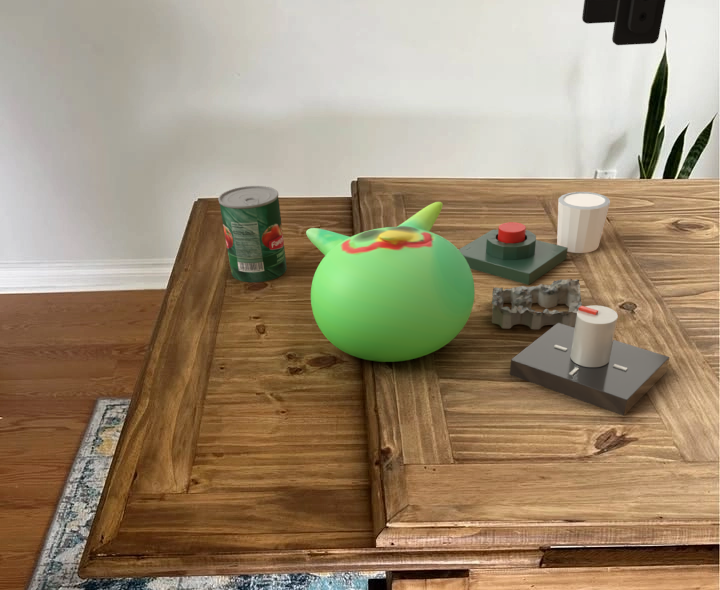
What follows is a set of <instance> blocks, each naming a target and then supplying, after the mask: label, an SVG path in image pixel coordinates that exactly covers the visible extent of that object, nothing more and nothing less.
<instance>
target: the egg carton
mask: <svg viewBox="0 0 720 590" xmlns="http://www.w3.org/2000/svg"><path fill="white" fill-rule="evenodd" d="M491 294H492V300H491V305H492V314H491V323H492V324H496V325H498V326H500V327H501V329H511V328H512V327H513V326H515V325H524V326H527V327H529V328H530V330H541V328H542V327H544V326H554V325H556V324H557V323H561V324H564V325H567V326H570V327H575V322H576V315H577V311H578V309H579V307H580V306H583V301H582V295H581V283H580V279H578V278H577V279H572V278H566V279H562V278H561V279H557V280H553V282H552V283H551V284H543V283H539V284H538V285H536V286H525V285H521V286H515V287H511V288H503V287H494V286H493V288H492V293H491ZM505 303H509V304H511V308H510V307H509V306H504V304H505ZM533 304H538V305H539V306H540V307H543V308H545V309H543V310H542V311H536V310H535V309H532V305H533ZM558 305H566V306H567V307H568V311H559V310H558V309H553V310H552V311H551V310H549V308H555V307H557V306H558Z"/></svg>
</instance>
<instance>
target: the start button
mask: <svg viewBox="0 0 720 590" xmlns="http://www.w3.org/2000/svg"><path fill="white" fill-rule="evenodd" d="M497 230H498V241H500V242H504V243H519V242H523V241H524V240H525V233H526V230H527V227H526V225H525V224H523V223H521V222H515V221H512V222H511V221H507V222H504V223H501V224H499V225H498V229H497Z"/></svg>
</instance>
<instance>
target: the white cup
mask: <svg viewBox="0 0 720 590" xmlns="http://www.w3.org/2000/svg"><path fill="white" fill-rule="evenodd" d="M557 199H558V201H557V202H558V203H557V204H558V206H557V229H556V230H557V233H556V236H557V237H556V245H559V246H563V247H567V248H568V250H567V253H573V254H586V253H591V252H594V251H597V250H598V248H599V246H600V242H601V239H602V235H603V231H604V227H605V224H606V219H607V217H608V212H609V208H610V205H611V200H610V198H609V197H607V196H606V195H604V194H601V193H598V192H591V191H573V192H567V193H565V194H562V195H560V197H558V198H557Z"/></svg>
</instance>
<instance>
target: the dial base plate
mask: <svg viewBox="0 0 720 590" xmlns="http://www.w3.org/2000/svg"><path fill="white" fill-rule="evenodd" d="M574 328H575V326H573V327H570V326H567V325H564V324H561V323H557V324H556V325H552V327H550V328H549V329H548V330H547V331H545V332H544V333H543V334H541V335H540V336H538V338H536V339H535V340H534V341H532V342H531V343H530V344H529V345H528V346H526V347H525V348H524V349H522V350H521V351H520V352H519V353H517V354H516V355H515V356H513V357H512V358H511V359H510V368H509V375H510V376H513V377H516V378H518V379H520V380H524V381H526V382H529V383H531V384H534V385H538V386H540V387H543V388H545V389H548V390H551V391H554V392H557V393H559V394H562V395H565V396H567V397H571V398H573V399H576V400H579V401H581V402H584V403H587V404H590V405H592V406H595V407H597V408H601V409H603V410H606V411H609V412H612V413H614V414H617V415H620V416H624V417H625V415H627V413H628V412H629V411H630V410H631V409H632V408H633V407H634V406H635V405H636V404H637V403H638V402H639V401H640V400H641V399H642V398H643V397H644V396H645V394H647V392H649V391H650V390H651V388H652V387H653V386H654V385H655V384H656V383H657V382H658V381H659V380H660V379H661V378H662V377H663V376H664V375H665V374H666V373H667V369H668V366H669V362H670V356H668V355H664V354H661V353H659V352H654V351H652V350H648V349H646V348H642V347H638V346H635V345H631V344H629V343H625V342H622V341H619V340H615V339H614V340H613V345H612V350H611V356H610V360H609V362H608V363H607V364H606V365H604V366H601V367H584V366H581V365H578V364H576V363H575V362H573V361H572V359H571V357H570V354H571V348H572V341H573V335H574Z"/></svg>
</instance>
